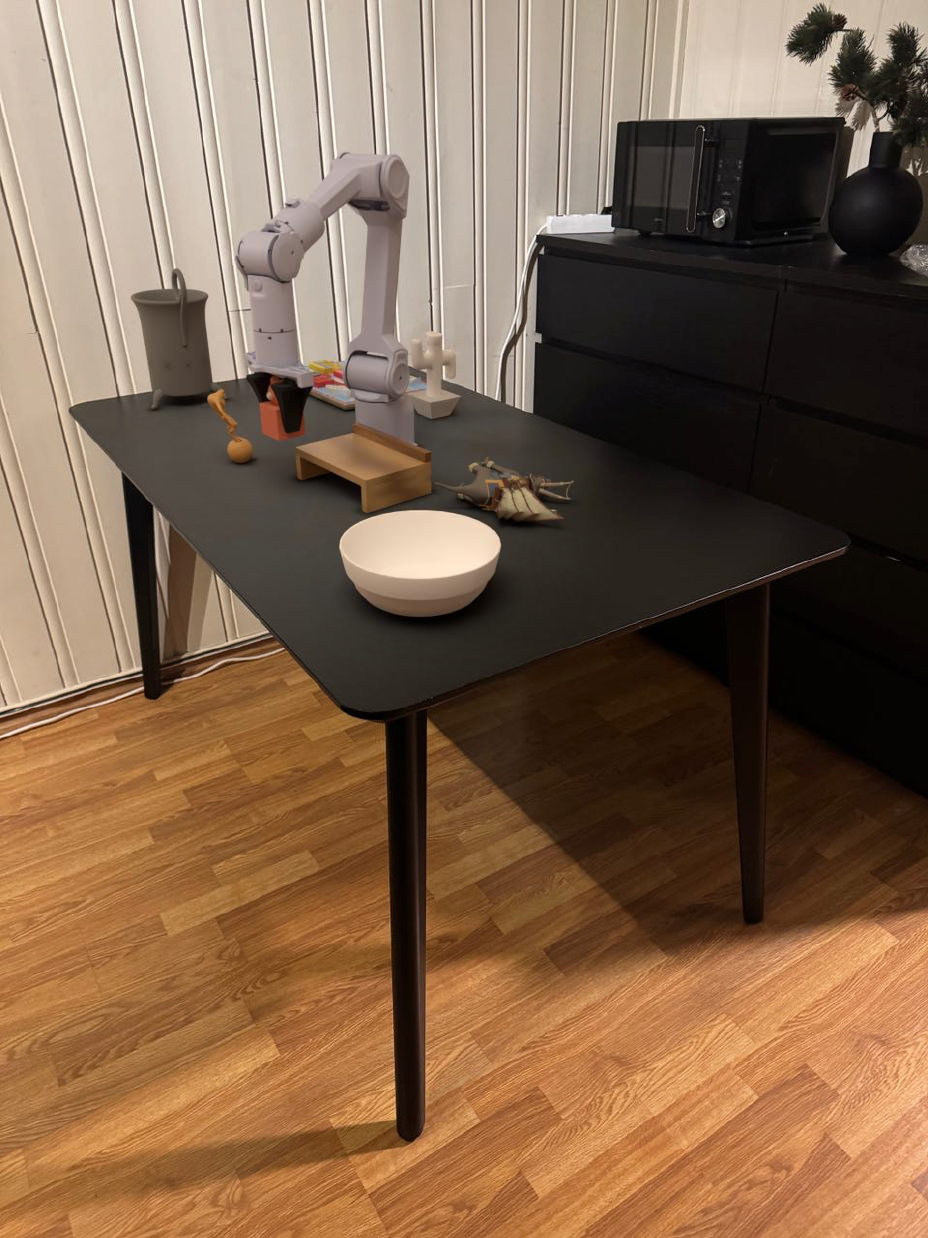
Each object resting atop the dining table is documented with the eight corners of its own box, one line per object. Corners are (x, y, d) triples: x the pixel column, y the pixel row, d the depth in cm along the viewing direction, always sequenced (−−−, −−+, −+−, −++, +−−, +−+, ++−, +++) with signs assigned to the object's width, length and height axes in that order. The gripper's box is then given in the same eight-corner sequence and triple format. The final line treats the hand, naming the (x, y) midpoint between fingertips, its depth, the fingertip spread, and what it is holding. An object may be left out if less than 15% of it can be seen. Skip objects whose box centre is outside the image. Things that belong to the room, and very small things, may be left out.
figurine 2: (465, 414, 164) (466, 332, 157) (425, 423, 159) (425, 339, 152) (441, 405, 169) (442, 325, 162) (402, 413, 164) (401, 332, 156)
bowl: (428, 549, 113) (428, 498, 109) (531, 601, 101) (534, 545, 98) (311, 594, 102) (306, 538, 98) (411, 657, 91) (410, 596, 87)
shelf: (360, 461, 141) (358, 422, 138) (431, 493, 130) (431, 451, 127) (297, 478, 134) (294, 437, 131) (367, 513, 123) (365, 469, 120)
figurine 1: (259, 468, 137) (251, 393, 131) (221, 473, 135) (211, 397, 129) (248, 452, 144) (240, 379, 138) (211, 457, 142) (201, 383, 136)
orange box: (288, 427, 127) (284, 372, 123) (305, 434, 124) (301, 378, 120) (262, 433, 124) (256, 377, 120) (278, 441, 121) (273, 383, 117)
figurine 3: (543, 449, 132) (608, 488, 119) (538, 487, 135) (601, 529, 122) (424, 460, 123) (480, 503, 110) (421, 500, 126) (476, 547, 113)
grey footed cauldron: (134, 393, 172) (111, 258, 160) (208, 384, 179) (191, 254, 167) (160, 419, 159) (137, 273, 146) (238, 407, 165) (222, 268, 153)
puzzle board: (441, 392, 177) (441, 379, 176) (345, 412, 164) (344, 398, 163) (359, 362, 197) (358, 350, 196) (268, 377, 184) (267, 365, 183)
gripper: (220, 323, 119) (232, 420, 126) (277, 342, 110) (286, 445, 116) (265, 317, 123) (274, 411, 130) (324, 335, 114) (330, 435, 121)
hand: (283, 427), depth 123 cm, fingers closed on orange box, 4 cm apart
